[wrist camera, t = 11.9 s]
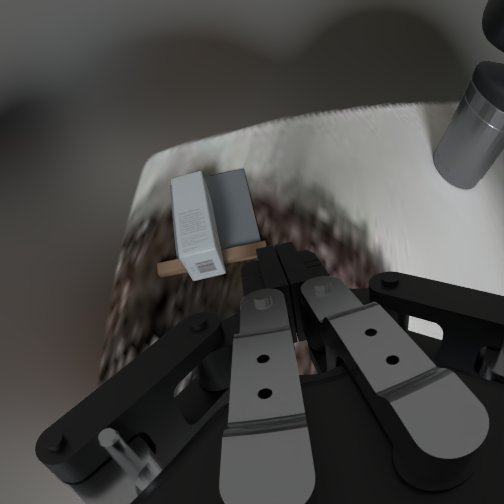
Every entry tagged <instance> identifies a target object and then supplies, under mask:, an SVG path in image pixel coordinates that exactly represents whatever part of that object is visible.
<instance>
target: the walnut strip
mask: <svg viewBox="0 0 504 504" xmlns="http://www.w3.org/2000/svg"><path fill="white" fill-rule="evenodd" d="M262 247H267V246H266V242H265V241H261V242H256V243H252V244H247V245H242V246H237V247H232V248H228V249H223V250H221V252H222V257H223V262H224V264H229V263H234V262H239V261H243V260H248V259H253V258H257V254H256V249H258V248H262ZM157 269H158V275H159V276H160V277H166V276H171V275H176V274H181V273H185V272H188V271H187V269H186V268H185V266H184V265H183V263H182V262H181V260H180V259H176V260H171V261H166V262H161V263H157Z"/></svg>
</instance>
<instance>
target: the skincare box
mask: <svg viewBox="0 0 504 504" xmlns="http://www.w3.org/2000/svg"><path fill="white" fill-rule="evenodd" d="M171 182H172V194H173V206H174V217H175V226H176V236H177V245H178V253H179V259H180V260H181V262H182V263H183V265H184V266H185V268H186V269H187V271H188V273H189V275H190V276H191V278H192V280H193V281H196V280H200V279H204V278H208V277H213V276H217V275H221V274H224V273H226V271H225V266H224V262H223V257H222V252H221V247H220V242H219V237H218V232H217V227H216V222H215V217H214V211H213V206H212V201H211V197H210V194H209V191H208V188H207V184H206V182H205V179H204V176H203V173H202V171H197V172H194V173H190V174H186V175H183V176H179V177H175V178H172V179H171Z"/></svg>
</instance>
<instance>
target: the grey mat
mask: <svg viewBox="0 0 504 504" xmlns="http://www.w3.org/2000/svg"><path fill="white" fill-rule="evenodd" d="M204 179H205V182H206V184H207V188H208V191H209V194H210V197H211V201H212V206H213V211H214V217H215V222H216V227H217V232H218V237H219V242H220V247H221V250H223V249H228V248H232V247H237V246H242V245H247V244H252V243H256V242H261V240H260V236H259V232H258V227H257V223H256V219H255V215H254V211H253V206H252V202H251V198H250V194H249V190H248V186H247V182H246V177H245V173H244V169H241V170H236V171H231V172H226V173H221V174H216V175H212V176H207V177H204ZM170 188H171V202H172V214H173V225H174V236H175V246H176V255H177V259H179V253H178V245H177V236H176V226H175V217H174V206H173V194H172V185H170Z"/></svg>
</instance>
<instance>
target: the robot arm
mask: <svg viewBox="0 0 504 504" xmlns="http://www.w3.org/2000/svg"><path fill="white" fill-rule="evenodd" d="M482 28H483V32H484V35H485V36H486V38H487V40H488V41H489V42H490V43H491V44H493V45H494V46H495V47H496V48H498V49H499V50H501V51H502V52H504V0H488V3H487V5H486V7H485V10H484V13H483V18H482ZM503 149H504V64H501V63H495V62H490V61H483V62H480V63H479V64H478V65H477V66H476V68H475V70H474V73H473V75H472V77H471V80H470V82H469V84H468V86H467V89H466V91H465V93H464V95H463V97H462V99H461V102H460V104H459V106H458V108H457V110H456V112H455V114H454V116H453V118H452V120H451V122H450V124H449V126H448V128H447V130H446V132H445V134H444V136H443V138H442V140H441V142H440V143H439V145H438V147H437V149H436V151H435V153H434V163H435V166H436V168H437V170H438V171H439V173H440V174H441V175H442V177H443V178H444V179H445V180H447V181H448V182H449V183H451V184H452V185H454V186H456V187H458V188H461V189H471V188H473V187H475V185H476V184H477V183H478V182H479V180H480V179H482V178H483V177H484V175H485V174H486V173H487V171H488V170H489V168H490V167H491V166H492V164H493V163H494V162H495V160H496V159H497V157H498V156H499V155H500V153H501V152H502V150H503ZM274 248H275V249H274ZM256 254H257V258H258V260H257V261H252V262H247V263H245V264H244V266H243V267H242V269H241V275H242V283H243V292H244V298H243V299H242V301H241V310H240V311H239V312H238V313H236V314H235V315H233V316H231V317H229V318H227V319H224V320H222V321H221V320H220V318H219V316H218V315H216V314H214V313H211V312H201V313H196V314H193V315H191V316H188V317H187V318H185V319H184V320H182V321H181V322H180V323H178V324H177V325H176V326H175V327H174V328H172V329H171V330H170V331H169V332H167V333H166V334H165V335H164V336H162V337H161V338H160V339H159V340H157V341H156V342H155V343H154V344H152V345H151V346H150V347H149V348H148V349H146V350H145V351H144V352H143V353H141V354H140V355H139V356H138V357H136V358H135V359H134V360H133V361H131V362H130V363H129V364H128V365H126V366H125V367H124V368H123V369H121V370H120V371H119V372H118V373H116V374H115V375H114V376H113V377H111V378H110V379H109V380H108V381H106V382H105V383H104V384H103V385H101V386H100V387H99V388H98V389H96V390H95V391H94V392H93V393H91V394H90V395H89V396H88V397H86V398H85V399H84V400H83V401H82V402H80V403H79V404H78V405H76V406H75V407H74V408H72V409H71V410H70V411H69V412H67V413H66V414H65V415H64V416H62V417H61V418H60V419H59V420H57V421H56V422H55V423H54V424H52V425H51V426H50V427H48V428H47V429H46V430H45V431H44V432H43V433H42V434H41V435H40V437H39V438H38V440H37V443H36V448H35V451H36V455H37V457H38V459H39V460H40V461H41V462H42V463H43V464H44V465H45V466H46V467H47V468H48V469H49V470H50V471H51V472H52V473H54V474H55V475H56V477H57V479H58V480H60V481H61V482H62V483H63V484H64V485H65V486H66V487H67V488H69V489H70V490H71V491H72V492H74V493H75V494H76V495H77V496H78V497H80V498H81V499H82V500H83V501H84V502H85V503H86V504H504V296H501V295H496V294H492V293H487V292H483V291H479V290H474V289H470V288H466V287H461V286H457V285H452V284H448V283H443V282H439V281H435V280H430V279H426V278H421V277H417V276H412V275H408V274H403V273H398V272H383V273H379V274H377V275H375V276H373V277H372V278H371V279H370V281H369V288H361V289H349V288H348V287H347V286H346V285H345V284H344V283H343V282H342V281H341V280H340V279H339V278H336V277H333V276H330V275H329V274H328V272H327V271H326V269H325V268H324V266H323V265H322V263H321V262H320V260H319V259H318V258H317V256H316V255H315V253H312V252H310V251H308V250H304V251H299V252H298V251H297V250H296V248H295V246H294V244H293V243H292V241H291V242H286V243H281V244H276V245H274V247H273V245H272V246H267V247H262V248H258V249H256ZM409 316H413V317H417V318H420V319H424V320H427V321H431V322H434V323H437V324H438V325H439V326H440V327H441V328H442V330H443V339H442V340H439V339H435V338H432V337H429V336H425V335H422V334H419V333H415V332H412V331H409V330H408V323H409ZM296 333H297V336H298V339H299V341H304V340H307V342H308V348H309V355H310V358H311V360H312V362H313V364H314V366H315V368H316V370H317V372H318V374H313V375H299V374H298V368H297V362H296V356H295V346H294V343H296V342H297V336H296ZM192 370H193V372H194V374H195V377H196V378H195V379H194V380H193V381H192V382H191V383H190V384H189V385H188V386H187V387H186V388H184V389H183V390H182V391H181V392H180V393H179V394H178V395H177V396H176V397H175V398H174V390H175V388H176V386H177V384H178V383H179V382H180V381H181V380H183V379H184V378H185V377H186V376H187V375H188V374H189V373H190V372H191V371H192Z"/></svg>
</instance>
